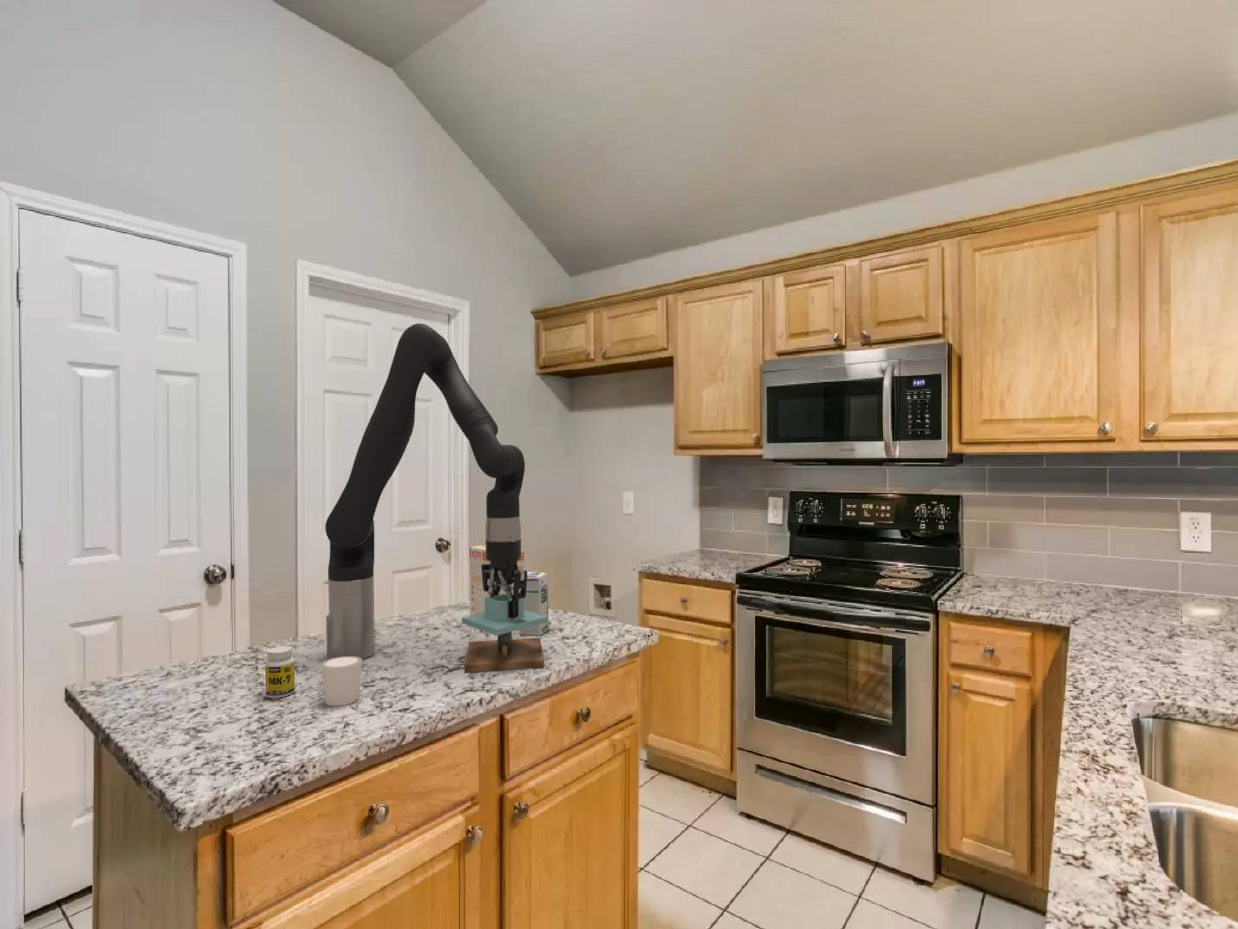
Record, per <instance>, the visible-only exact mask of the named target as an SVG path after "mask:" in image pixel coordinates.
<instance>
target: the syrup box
mask: <svg viewBox="0 0 1238 929" xmlns="http://www.w3.org/2000/svg"><path fill="white" fill-rule="evenodd" d="M548 586H549V585H548V573H547V572H546V571H545V572H544V571H527V586H526V597H525V598H524V610H525V611H528V612H532V613H535V614H538V615H542V616H545V617H547V623H543V624H539V625H535V626H532V627H528V628H524V629H520V630H519V635H522V636H531V635H537V636H538V637H541V635H542V636H543V635H544V634H545V633H546V632H547V631H548V630H549V628H550V626H549V591H548V588H549V587H548ZM519 592H520V593H521V588H520V589H519ZM537 636H536V637H537Z"/></svg>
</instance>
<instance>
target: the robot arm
mask: <svg viewBox="0 0 1238 929" xmlns="http://www.w3.org/2000/svg"><path fill="white" fill-rule="evenodd" d="M424 374H425V375H426V376H427V377H428V378H429V379H430V380H431V381H432V382H433V383H434V384H435V385H436V387H437V388H438V389H439V391H440V393H441V394H442V395H443V397H444V399H445V402H446V404H447V407H448V409H449V412H450V414H451V415H452V418H453V419H454V421H455V422H456V423H455V424H457V426H458V427H459V429H460V430H461V432H462V433H463V435H464V436H465V438H466V439H467V440H468V442H469V445H470V448H471V451H472V454H473V456H474V459H475V461H476V464H477V466H478V467H479V469H480V470H481V471H482V473H484V475H486V476H487V477H489V478H493V479H495V481H494V487H493V488H492V489H490V490H489V491H488V492H487V494H486V498H485V499H486V500H485V502H486V503H485V504H486V505H485V506H486V520H485V522H486V523H485V529H484V530H485V531H484V532H485V545H486V559H487V560H488V561H490V563H488V564H482V566H481V569H482V580H483V590H484V591H487V592H488V595H489V596H490V597H491V596H496V595H499V594H500V591H501V588H502V586H503V590H504V591H505V592H506V593H507V597H508V600H509V601H508V618H510V619H513V618H517V617H518V614H519V599H522V598H525V597H526V586H527V572H528V571H527V570H525V569H524V571H521V570H518V566H517V561H518V560H519V559H520V558H521V549H522V527H521V517H520V494H521V492H522V491H521V490H522V486H523V482H524V477H525V471H526V470H525V469H526V462H525V458H524V454H523V452H522V450H521V449H520V448H519V447H517V446H516V445H512V444H502V443H501V442H500V441H499V439H498V438H497V435H498V432H499V428H498V427H499V426H498V425H497V422H496V421H495V419H494V418H493V416H492V415H491V413H490V412H489V410H487V407H485V405H484V404H483V402H482V401H481V400H480V398H479V397H478V395H477V394H476V393H475V391H474V390H473V389H472V387H471V386H470V384H469V382H468V381H467V379H466V378H465V376H464V373H462V370H461V369H460V367H459V364H458V363H457V360H456V358H455V356H454V354H453V351H452V349H451V347H450V345H449V343H448V341H447V339H446V338H445V337H444V336H442V335H441V334H440V333H439V332H438V331H437V330H435V329H434V328H432V327H431V326H430V325H427V324H426V323H420V322H419V323H414V324H412V325H410V326H408V327H407V328H406V329H405V330H404V331H403V332H402V333H401V336H400V338H399V339H398V342H397V346H396V349H395V351H394V355H393V358H392V362H391V365H390V368H389V372H388V375H387V379H386V381H385V383H384V386H383V388H382V391H381V392H380V395H379V398H378V399H377V403H376V405H375V406H374V410H373V412H372V414H371V417H370V419H369V420H368V423H367V426H366V428H365V430H364V432H363V436H362V438H361V441H360V443H359V446H358V448H357V451H356V454H355V457H354V461H353V464H352V467H351V471H350V475H349V476H348V480H347V482H346V484H345V487H344V488H343V491H342V492H341V494H340V496H339V498H338V500H337V501H336V503H335V505H334V507H333V508H332V510H331V512H330V513H329V515H328V516H327V518H326V521H325V527H324V528H325V529H324V530H325V533H326V537H327V539H328V541H329V558H328V560H329V561H328V568H327V581H328V583H327V584H328V586H327V588H328V614H327V615H326V617H325V624H326V625H325V627H326V628H325V629H326V630H325V631H326V632H325V634H326V636H325V638H326V660H329V659H332V658H337V657H344V656H355V657H359V658H361V659H362V660H363V659H367V658H369V657H372V656H373V655H375V652H376V650H375V649H376V638H375V637H376V635H375V634H376V633H375V632H376V631H375V630H376V629H375V628H376V627H375V625H376V624H375V623H376V622H375V582H374V581H375V580H374V579H375V578H374V577H375V576H374V572H375V571H374V570H375V568H374V566H375V520H374V518H375V514H376V511H377V507H378V504H379V501H380V498H381V496H382V493H383V491H384V489H385V488H386V485H387V484H388V482H389V481H390V479H391V477H392V476H393V475H394V472H395V471H396V469H397V467H398V466H399V464H400V462H401V460H402V458H403V456H404V453H405V452H406V449H407V447H408V444H409V442H410V440H411V437H412V434H413V431H414V426H415V417H416V401H417V400H416V399H417V392H418V388H419V385H420V383H421V381H422V378H423V376H424ZM489 579H490V580H489ZM487 580H489V583H488V582H487ZM512 583H514V585H512ZM488 584H489V585H488ZM509 585H512V586H509ZM520 588H521V593H520V592H519V589H520ZM511 590H513V595H512V592H511Z"/></svg>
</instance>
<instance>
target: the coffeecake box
mask: <svg viewBox="0 0 1238 929" xmlns="http://www.w3.org/2000/svg"><path fill="white" fill-rule="evenodd" d="M488 563H490V561H488V560H487V559H486V544H481V545H479V544H478V545H475V546H474V545H473V546H469V592H470V593H469V597H470V598H469V599H470V600H469V601H470V602H469V604H470V605H469V606H470V608H469V609H470V611H469V612H470V615H469V616H472V615H477V614H481V613H485V598H486V597H490V596H489V595H488V592H487V591H484V590H483V580H482V569H481V566H482V564H488ZM517 566H518V570H521V571H525V549H522V548H521V558H520V559H519V560H518V561H517ZM489 580H490V579H489ZM489 580H487V582H488V583H489ZM488 585H489V584H488ZM512 585H514V583H512ZM512 585H509V586H512ZM511 592H512V594H513V590H511ZM501 594H506V592H505V591H504V590H503V586H502V588H501V591H500V594H499V595H501Z"/></svg>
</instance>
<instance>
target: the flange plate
mask: <svg viewBox="0 0 1238 929" xmlns="http://www.w3.org/2000/svg"><path fill="white" fill-rule="evenodd" d="M512 595H513V594H512ZM508 601H509V600H508V597H507V593H506V594H501V595H496V596H491V597H486V598H485V613H481V614H477V615H472V616H470V615H468V616H463V617H461V623H462V624H463V625H465V626H469V627H472V628H474V629H478V630H480V631H482V632H486V633H488V634H492V635H494V636H498V635H501V634H504V633H508V632H516V631H520V629H524V628H528V627H532V626H535V625H539V624H543V623H547V617H545V616H542V615H538V614H535V613H532V612H528V611H525V610H524V598H522V599H519V614H518V617H517V618H513V619H510V618H508Z"/></svg>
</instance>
